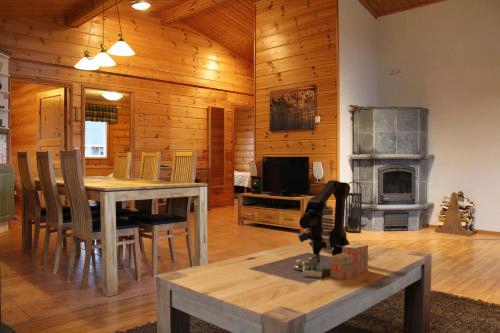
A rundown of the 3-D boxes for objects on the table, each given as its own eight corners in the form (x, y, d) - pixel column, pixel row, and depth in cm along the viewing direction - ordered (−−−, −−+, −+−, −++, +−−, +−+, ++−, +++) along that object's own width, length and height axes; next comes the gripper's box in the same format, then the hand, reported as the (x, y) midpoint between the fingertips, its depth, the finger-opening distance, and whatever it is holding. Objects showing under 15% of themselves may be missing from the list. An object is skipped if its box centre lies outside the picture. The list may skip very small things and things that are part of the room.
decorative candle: (317, 248, 249) (317, 205, 249) (333, 249, 248) (334, 205, 247) (317, 251, 240) (317, 206, 240) (334, 252, 239) (334, 207, 238)
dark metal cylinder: (316, 272, 194) (316, 256, 194) (316, 274, 191) (316, 258, 190) (308, 272, 195) (308, 256, 195) (308, 274, 191) (308, 258, 191)
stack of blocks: (342, 280, 185) (342, 251, 185) (330, 277, 190) (330, 249, 190) (367, 271, 201) (368, 244, 200) (355, 268, 205) (356, 242, 205)
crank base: (306, 268, 204) (306, 259, 204) (305, 271, 198) (306, 262, 198) (293, 267, 205) (293, 259, 205) (292, 270, 199) (292, 262, 199)
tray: (321, 272, 196) (321, 267, 196) (321, 277, 188) (321, 272, 188) (303, 271, 197) (303, 266, 197) (302, 276, 189) (302, 270, 189)
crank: (296, 266, 200) (297, 255, 200) (295, 264, 203) (296, 253, 203) (320, 266, 200) (320, 255, 200) (319, 264, 203) (319, 253, 203)
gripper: (296, 222, 213) (295, 253, 213) (302, 229, 194) (301, 264, 195) (318, 222, 213) (317, 253, 214) (327, 229, 195) (326, 264, 195)
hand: (315, 258), depth 205 cm, fingers closed
